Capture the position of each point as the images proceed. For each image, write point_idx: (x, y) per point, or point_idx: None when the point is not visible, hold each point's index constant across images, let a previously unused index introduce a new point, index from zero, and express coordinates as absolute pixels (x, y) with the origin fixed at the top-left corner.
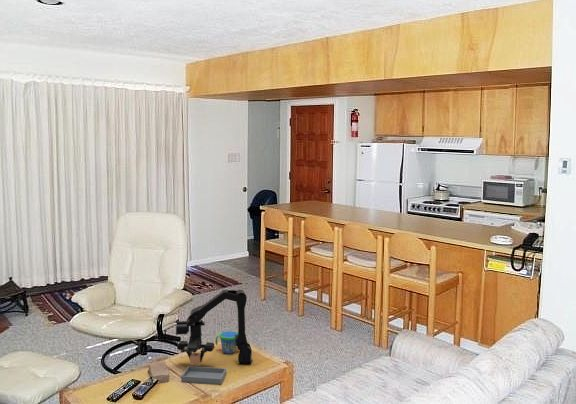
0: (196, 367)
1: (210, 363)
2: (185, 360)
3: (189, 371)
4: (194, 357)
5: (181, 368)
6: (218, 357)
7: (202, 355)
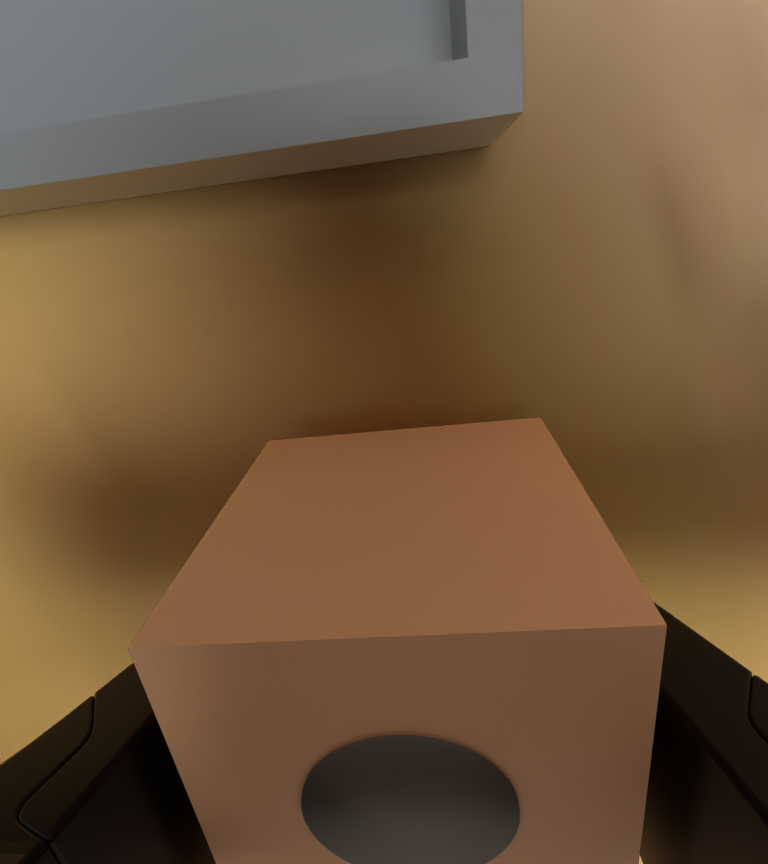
0: (160, 118)
1: None
2: None
3: (432, 58)
4: (395, 592)
5: (756, 289)
6: None
7: (27, 755)
